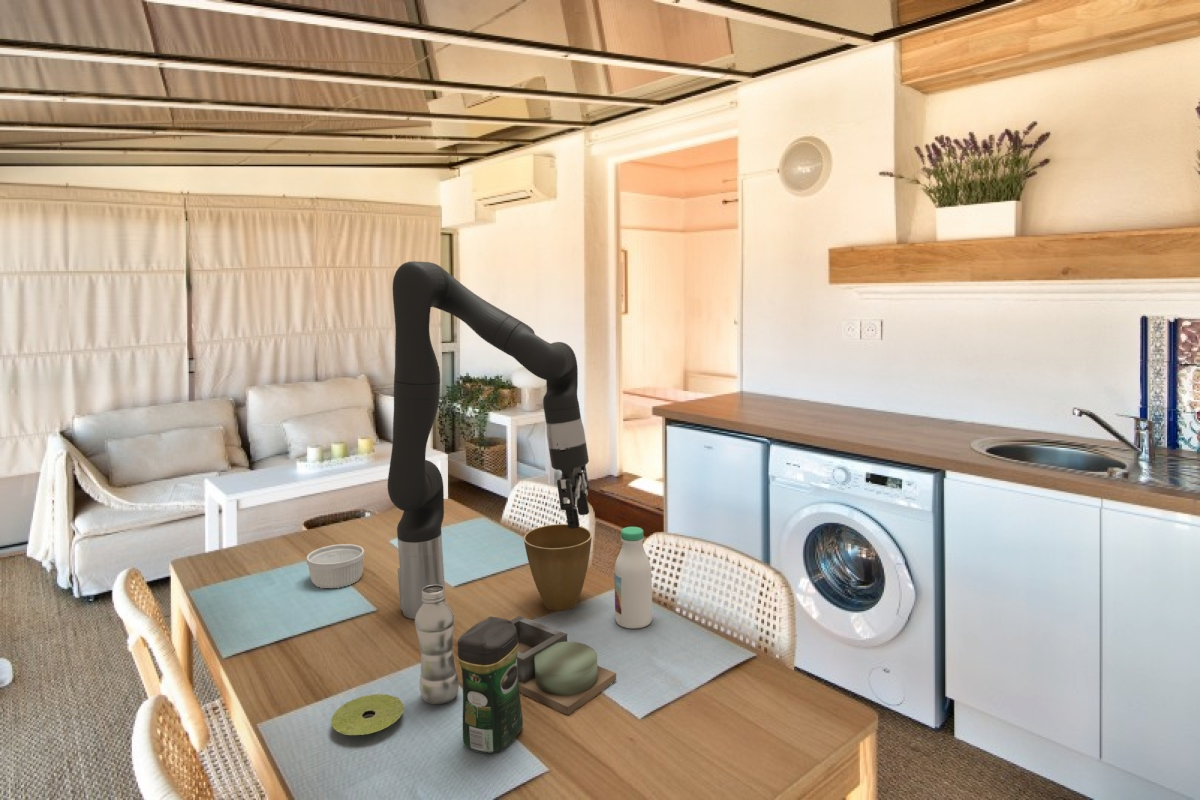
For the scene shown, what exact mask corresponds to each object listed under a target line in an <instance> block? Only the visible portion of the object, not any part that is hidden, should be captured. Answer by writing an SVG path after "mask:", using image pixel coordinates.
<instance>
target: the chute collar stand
mask: <svg viewBox="0 0 1200 800" xmlns="http://www.w3.org/2000/svg"><path fill="white" fill-rule="evenodd" d="M509 620H510V621H511V622H512V623H513V624H514V626H515V627H516V631H517V637H518V653H517V672H518V683H519V693H520V694H521V695H524V696H526V697H528V698H530V699H533V700H535V701H537V702H538V703H541V704H543V705H545V706H547V707H549V708H552V709H554V710H556V711H558V712H561V713H562V714H564V715H567V716H570V715H571V714H572V713H573V712H575V711H577V710H578V709H579V708H581V707H582V706H583V705H585V704H586V703H587V702H589V701H590V700H592V699H593V698H594V697H596V696H597V695H599V694H600V693H601V692H603V691H605V688H606V687H607V686H608V687H610V686H611V685H612V684H614V683H615V682H616V681H617V672H615V671H612V670H609V669H608V668H607V669H606V668H605V667H602V666H599V665H598V653H597V651H596V649H594V648H593V647H592V646H591V645H588V644H586V643H583V642H580V641H579V642H578V641H568V633H566V632H563V631H561V630H557V629H555V628H552V627H550V626H547V625H544V624H542V623H539V622H537V621H534V620H532V619H528V618H526V617H523V616H521V615H518V616H515V618H511V619H509ZM615 680H616V681H615ZM614 681H615V682H614ZM613 682H614V683H613ZM611 683H612V684H611ZM610 684H611V685H610ZM609 685H610V686H609ZM608 687H607V688H608ZM607 688H606V689H607ZM602 690H603V691H602Z"/></svg>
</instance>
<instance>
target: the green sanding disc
mask: <svg viewBox="0 0 1200 800" xmlns="http://www.w3.org/2000/svg"><path fill="white" fill-rule="evenodd" d="M404 711H405V707H404V703H403V701H402V700H401V699H400V698H398V697H396V696H394V695H390V694H383V693H382V694H380V693H377V694H368V695H363V696H359V697H357V698H354V699H352V700H350V701H348V702H346V703H344V704H342V705H340V707H339V708H338V709H336V711H335V712H334V713H333V715H332V716H331V719H330V720H331V721H330V722H331V726H332V728H333V729H334V730H335V731H336V732H338V733H340V734H342V735H346V736H347V735H348V736H360V735H361V736H362V735H363V736H364V735H369V734H373V733H376V732H380V731H382V730H384V729H386V728H388V727H389V726H392V725H393V724H394V723H395V722H397V721H398V719H400V718H401V716H402V715H403V713H404Z"/></svg>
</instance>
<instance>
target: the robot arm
mask: <svg viewBox="0 0 1200 800" xmlns="http://www.w3.org/2000/svg"><path fill="white" fill-rule="evenodd" d="M392 300H393V302H392V303H393V312H394V313H393V314H394V325H395V326H394V327H395V328H394V329H395V344H394V347H395V348H394V375H393V376H394V377H393V379H394V380H393V418H392V419H393V423H392V446H391V453H390V454H391V455H390V462H389V469H388V476H387V493H388V496H389V499H390V501H391V502H392V504H393V506H395V508H397V509H398V510H399V511H403V513H402V516H401V518H400V520H399V521H398V524H397V527H396V533H397V534H396V535H397V548H398V549H397V550H398V562H399V568H398V569H397V578H398V579H397V580H398V581H397V582H398V595H399V608H400V610H401V611H402V615H403V616H404V617H405V618H407V619H411V620H415V617H416V614H417V612H418V610H419V609H420V607H421V606H422V604H423V603H424V602H422V589H423V588H424V587H426V586H429V585H442V586H443V587H444V589H445V590H446V588H445V587H446V586H445V585H446V584H445V571H444V570H445V569H444V552H443V550H444V549H443V537H442V536H443V535H442V524H443V522H444V516H445V515H444V514H445V499H444V495H445V494H444V492H445V491H444V480H443V476H442V472H441V471H440V469H439V468H438V466H437V465H436V464H435V463H433V462H432V461H431V460H428V459H427V460H426V456H427V455H426V452H427V446H428V445H427V444H428V439H429V437H430V434H431V432H432V429H433V425H434V423H435V419H436V416H437V413H438V409H439V407H440V406H439V405H440V404H439V403H440V395H441V394H440V389H441V372H440V371H441V370H440V367H439V362H438V359H437V355H436V354H435V351H434V348H433V347H434V346H433V345H432V341H431V334H430V333H431V332H430V320H431V309H432V308H435V309H436V310H437V309H438V310H440V311H443V312H444V313H445V312H446V313H448V314H450V315H452V316H454V317H456V318H457V319H459V320H461V321H462V322H463V323H465V324H466V325H467V326H468V327H469V328H470V329H471V330H472V331H473V332H474V333H475V334H477V336H479V337H480V338H481V339H482V340H483V341H485V342H487V343H488V344H489V345H491V346H493V347H494V348H496V349H498V350H500V351H501V352H503V353H505V354H507V356H508V355H509V356H511V357H512V358H513V359H515V360H516V361H517V362H518V363H519V364H520V365H521V366H523V367H524V368H525V369H526V370H527V371H528V372H530V373H531V374H533V375H534V376H536V377H537V378H540V379H543V380H545V382H546V384H545V385H546V392H545V395H544V396H543V399H542V404H543V406H542V407H543V411H544V418H545V419H544V420H545V425H546V429H545V430H546V438H547V447H548V453H549V457H550V464H551V468H552V469H554V470H557V471H558V470H559V471H561V477H560V479H556V484H557V493H558V500H559V508H560V510H561V511H565V517H566V522H567V523H566V524H568V528H570V529H574V528H578V527H579V526H581V525H580V518H579V516H586V515H589V513H590V508H589V507H590V506H589V503H588V495H589V492H588V491H590V484H589V479H588V473H587V467H586V466H587V464H588V463H589V461H590V460H589V453H588V447H587V441H586V434H585V428H584V424H583V422H582V417H581V410H580V409H581V408H580V403H579V399H578V389H579V388H578V383H579V380H578V379H579V377H578V375H579V374H578V372H579V371H578V361H577V357H576V353H575V351H574V350H573V348H572V347H571V346H570V345H569V344H567V343H566V342H562V341H555V342H552V343H550V342H548V341H546V340H545V339H543V338H541V337H540V336H538V335H536V334H535V333H536V332H535V331H534V329H533V328H532V327H531V326H529V325H528V324H526V323H525V322H523V321H521V320H520V319H518V318H516V317H515V316H512V315H511V314H509V313H508V312H505V311H504V310H502V309H500V308H498V307H496V306H495V305H493V304H492V303H490V302H489V301H487V300H485V299H483V298H482V297H481V296H479V295H477V294H476V293H474V292H473V291H472V290H470V289H469V288H468V287H467V286H465V285H463V284H462V283H461V282H460V281H459V280H458V279H456V277H454V276H453V275H452V274H450V273H449V272H448V271H447V270H446V269H444V268H443V267H441V265H438V264H437V263H434V262H430V261H416V260H415V261H414V260H413V261H407V262H404V263H402V264H401V265H400V266H398V268H397V270H396V271H395V273H394V276H393V280H392ZM444 601H445V602H446V599H445V600H444Z"/></svg>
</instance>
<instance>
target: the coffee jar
mask: <svg viewBox="0 0 1200 800" xmlns="http://www.w3.org/2000/svg"><path fill="white" fill-rule="evenodd" d="M510 620H511V619H508V618H507V619H506V618H502V617H496V616H488V618H486V619H484V620H482V621H479V622H478V623H476V624H475V625H473V626H472V627H470V628H469V629H468V630H467V631H465V632H464V633H463V634H462V635H460V637H459V638H458V639H457V660H458V664H459V667H460V669H461V679H462V682H461V683H462V741H463V744H464V746H465V747H466V748H468V749H469V750H471V751H474V752H476V753H479V754H497V753H500V752H502V751H503V750H505V749H506V748H507V747H508V746H509V745H510V744H511V743H512V742H513V741H514V740H515V739H516V738H517V736H518V735H519V734H520V733H521V730H522V728H523V725H524V724H523V723H524V722H523V721H524V720H523V710H522V704H521V703H522V702H521V695H520V694H521V693H519V683H518V672H517V653H518V637H517V631H516V627H515V626H514V624H513V623H512V622H511V621H510Z"/></svg>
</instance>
